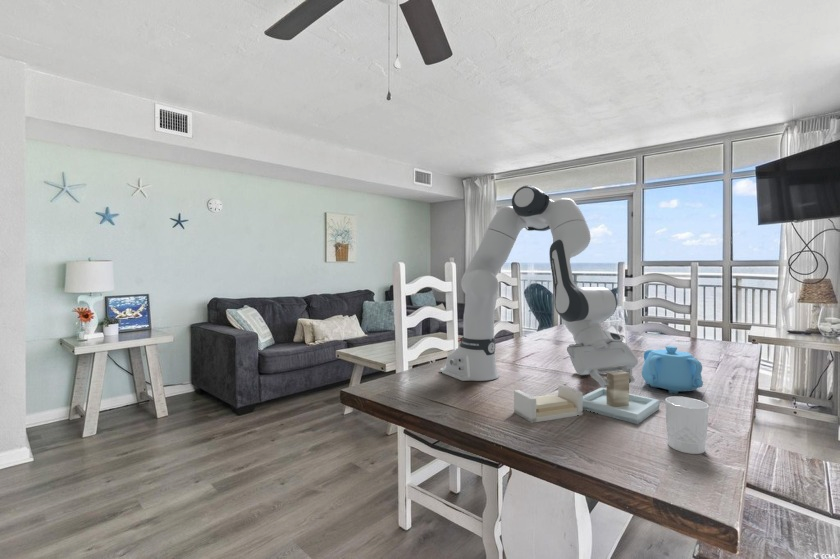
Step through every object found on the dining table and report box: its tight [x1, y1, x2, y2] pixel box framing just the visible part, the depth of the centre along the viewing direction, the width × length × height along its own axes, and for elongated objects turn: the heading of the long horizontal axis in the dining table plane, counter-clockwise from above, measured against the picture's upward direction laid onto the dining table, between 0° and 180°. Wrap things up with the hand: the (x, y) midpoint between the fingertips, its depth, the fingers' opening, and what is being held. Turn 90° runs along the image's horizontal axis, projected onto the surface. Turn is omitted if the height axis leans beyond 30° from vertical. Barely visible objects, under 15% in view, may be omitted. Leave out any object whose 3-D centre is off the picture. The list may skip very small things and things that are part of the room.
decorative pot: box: [641, 345, 704, 394], centre depth 130 cm, size 16×16×14 cm
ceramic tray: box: [582, 386, 660, 425], centre depth 112 cm, size 16×16×2 cm
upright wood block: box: [606, 370, 630, 407], centre depth 111 cm, size 2×6×9 cm, turn 110°
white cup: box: [664, 395, 710, 455], centre depth 87 cm, size 8×8×10 cm
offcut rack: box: [513, 384, 584, 424], centre depth 108 cm, size 8×16×6 cm, turn 109°
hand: (618, 384), depth 111 cm, fingers open, 8 cm apart
